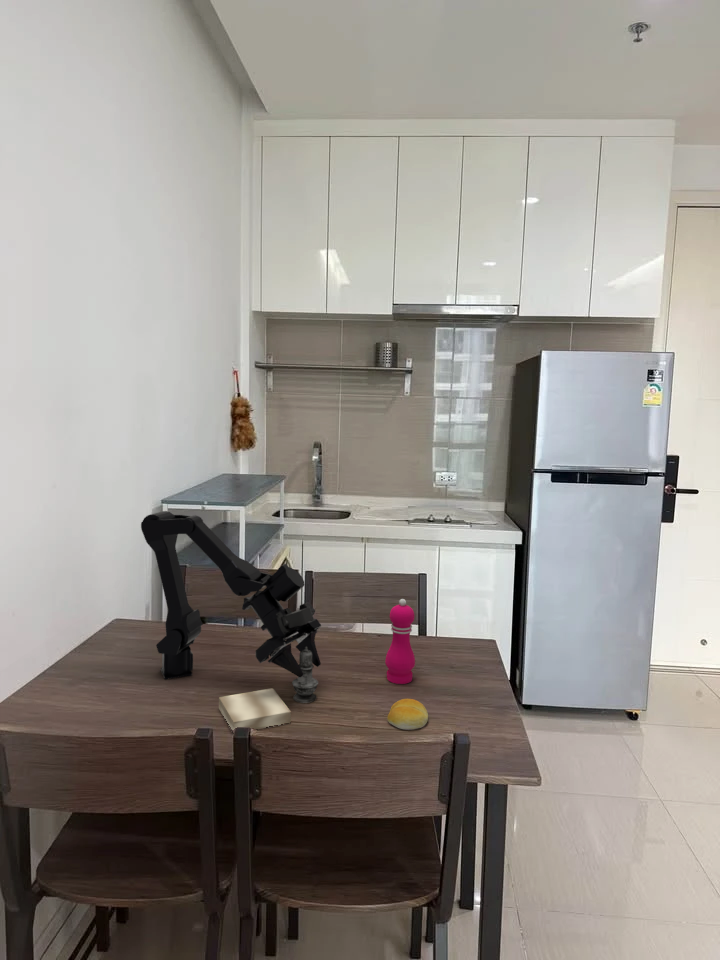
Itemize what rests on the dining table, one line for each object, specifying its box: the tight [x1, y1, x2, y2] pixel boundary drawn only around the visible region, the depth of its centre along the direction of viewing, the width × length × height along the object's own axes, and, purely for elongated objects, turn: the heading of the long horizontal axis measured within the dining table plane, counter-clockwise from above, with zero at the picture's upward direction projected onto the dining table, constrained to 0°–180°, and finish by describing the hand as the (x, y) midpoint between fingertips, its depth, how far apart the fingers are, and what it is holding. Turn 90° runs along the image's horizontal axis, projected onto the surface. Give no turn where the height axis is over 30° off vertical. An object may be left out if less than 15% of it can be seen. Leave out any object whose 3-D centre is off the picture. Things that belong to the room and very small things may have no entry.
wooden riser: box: [218, 688, 292, 730], centre depth 136 cm, size 12×12×2 cm
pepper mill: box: [385, 598, 416, 685], centre depth 156 cm, size 7×7×20 cm
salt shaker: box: [291, 646, 319, 704], centre depth 144 cm, size 6×6×12 cm
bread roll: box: [386, 698, 429, 731], centre depth 136 cm, size 8×9×4 cm
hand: (310, 670), depth 144 cm, fingers open, 7 cm apart
